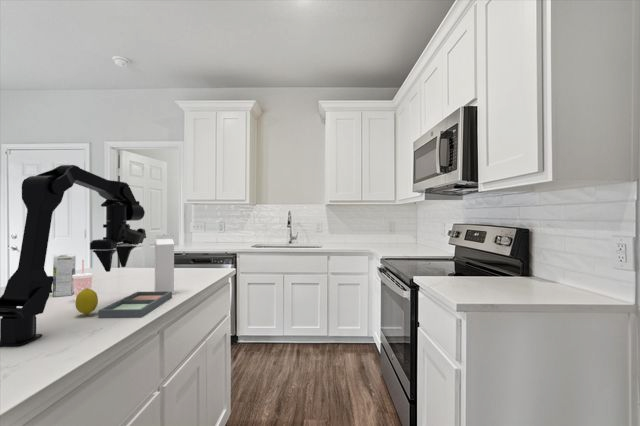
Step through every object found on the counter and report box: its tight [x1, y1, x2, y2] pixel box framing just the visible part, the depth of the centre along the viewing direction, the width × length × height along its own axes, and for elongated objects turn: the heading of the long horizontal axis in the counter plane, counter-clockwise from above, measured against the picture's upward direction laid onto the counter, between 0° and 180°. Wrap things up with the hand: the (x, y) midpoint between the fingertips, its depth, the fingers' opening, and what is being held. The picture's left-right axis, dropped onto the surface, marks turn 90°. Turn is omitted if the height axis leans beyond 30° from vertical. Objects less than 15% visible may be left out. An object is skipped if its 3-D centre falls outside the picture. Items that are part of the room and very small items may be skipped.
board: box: [97, 291, 173, 319], centre depth 112 cm, size 24×12×2 cm, turn 3°
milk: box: [154, 234, 175, 296], centre depth 130 cm, size 6×6×22 cm
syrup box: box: [52, 254, 77, 298], centre depth 128 cm, size 6×6×14 cm
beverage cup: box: [72, 259, 94, 302], centre depth 120 cm, size 6×6×14 cm
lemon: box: [74, 288, 99, 316], centre depth 103 cm, size 6×6×8 cm
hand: (116, 269), depth 113 cm, fingers open, 9 cm apart
